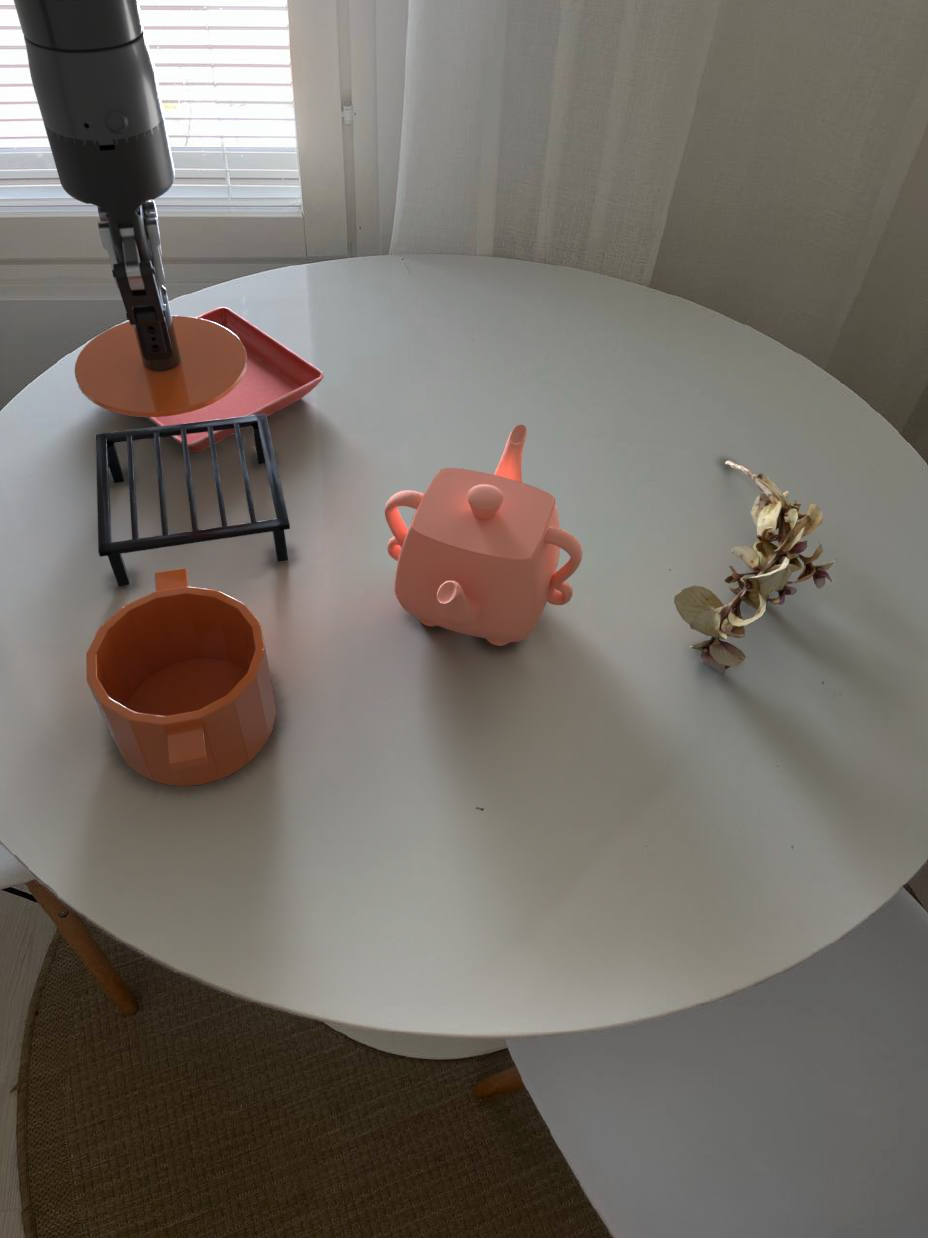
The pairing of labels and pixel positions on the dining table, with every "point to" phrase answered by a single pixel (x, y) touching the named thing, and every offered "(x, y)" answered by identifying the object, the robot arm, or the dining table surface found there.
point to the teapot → (481, 550)
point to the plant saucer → (250, 381)
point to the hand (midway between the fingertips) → (157, 343)
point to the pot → (183, 683)
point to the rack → (110, 460)
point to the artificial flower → (725, 621)
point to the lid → (161, 368)
